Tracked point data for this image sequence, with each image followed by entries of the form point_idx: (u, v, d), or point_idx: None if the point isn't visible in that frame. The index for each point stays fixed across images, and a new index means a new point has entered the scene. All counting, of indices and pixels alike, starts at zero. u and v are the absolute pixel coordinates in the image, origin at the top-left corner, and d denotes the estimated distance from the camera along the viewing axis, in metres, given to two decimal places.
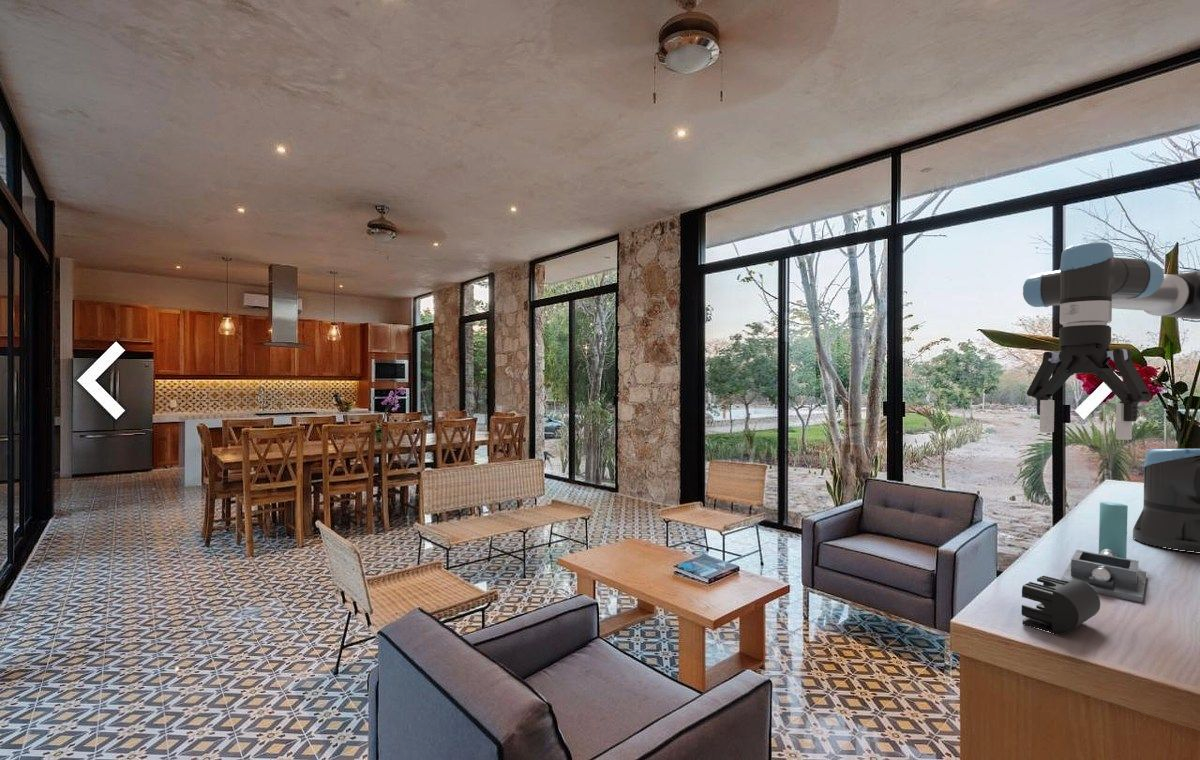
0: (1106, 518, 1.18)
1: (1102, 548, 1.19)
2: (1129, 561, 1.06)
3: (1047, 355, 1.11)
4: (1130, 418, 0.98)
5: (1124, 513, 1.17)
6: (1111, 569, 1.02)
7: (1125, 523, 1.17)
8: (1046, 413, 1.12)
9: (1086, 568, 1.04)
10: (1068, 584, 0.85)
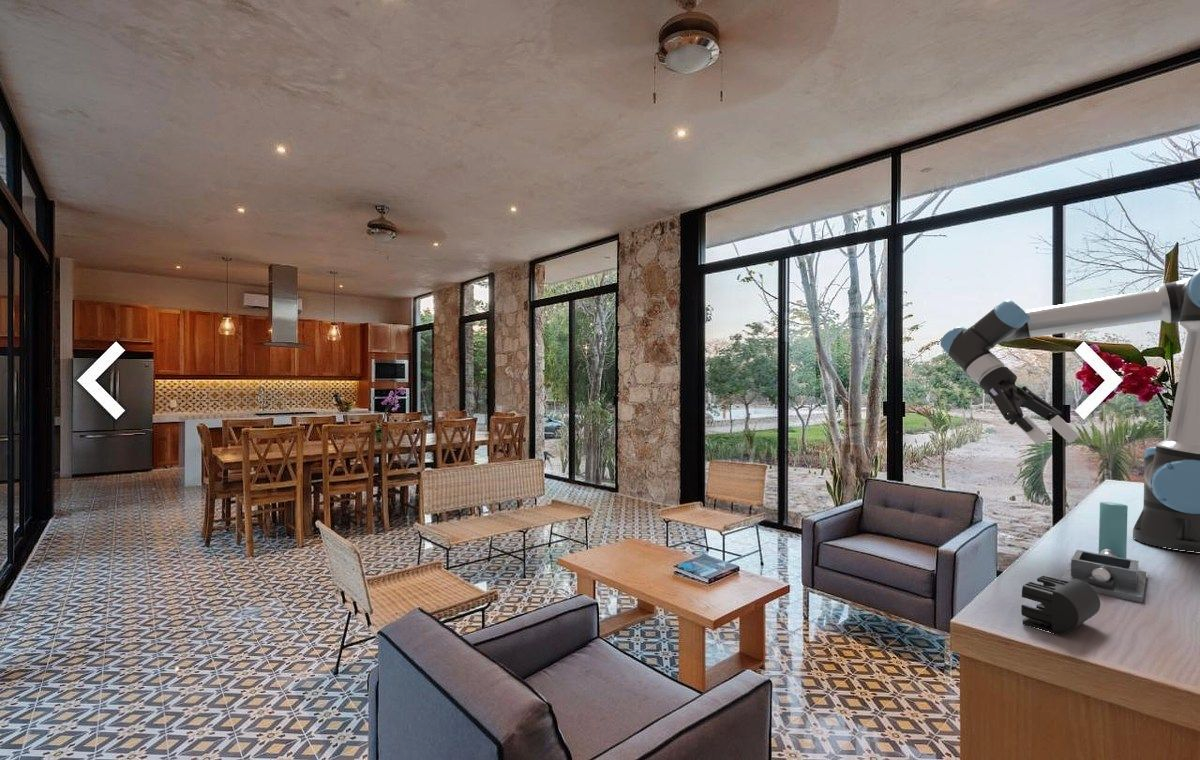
0: (1106, 518, 1.18)
1: (1102, 548, 1.19)
2: (1129, 561, 1.06)
3: None
4: (1024, 430, 1.27)
5: (1124, 513, 1.17)
6: (1111, 569, 1.02)
7: (1125, 523, 1.17)
8: (1058, 429, 1.33)
9: (1086, 568, 1.04)
10: (1068, 584, 0.85)
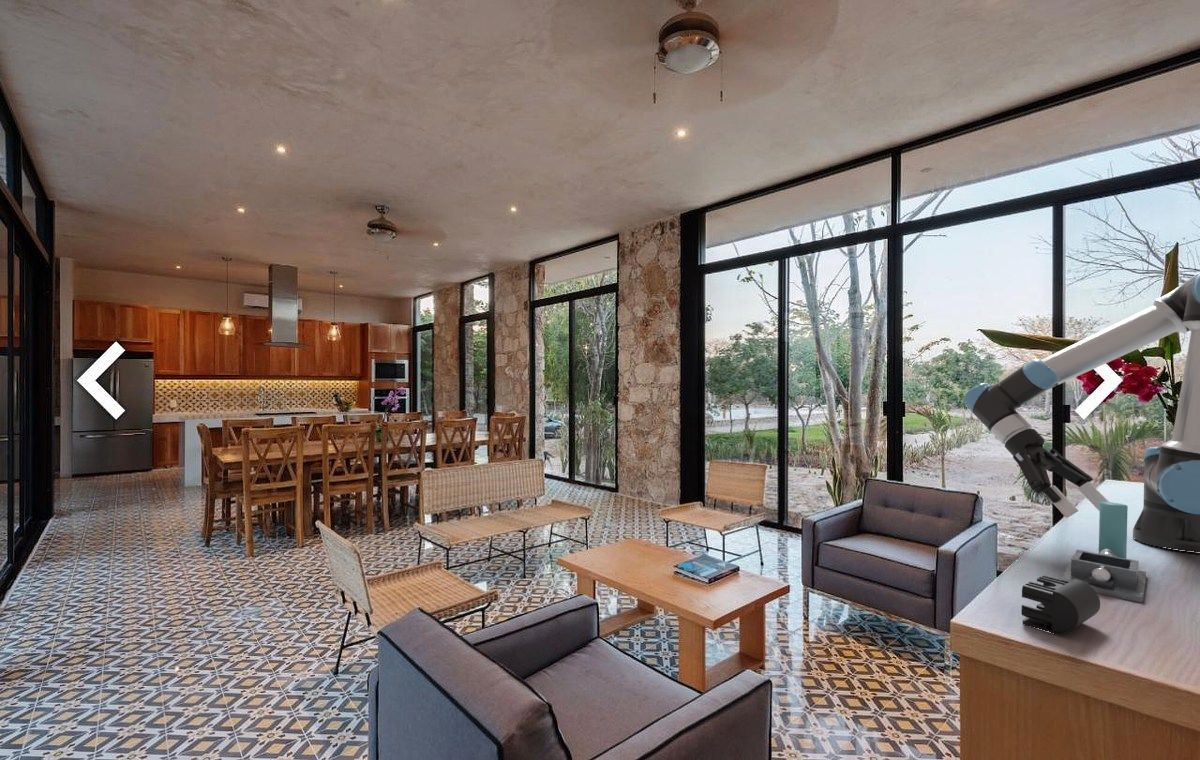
0: (1106, 518, 1.18)
1: (1102, 548, 1.19)
2: (1129, 561, 1.06)
3: None
4: (1051, 500, 1.22)
5: (1124, 513, 1.17)
6: (1111, 569, 1.02)
7: (1125, 523, 1.17)
8: (1089, 496, 1.27)
9: (1086, 568, 1.04)
10: (1068, 584, 0.85)
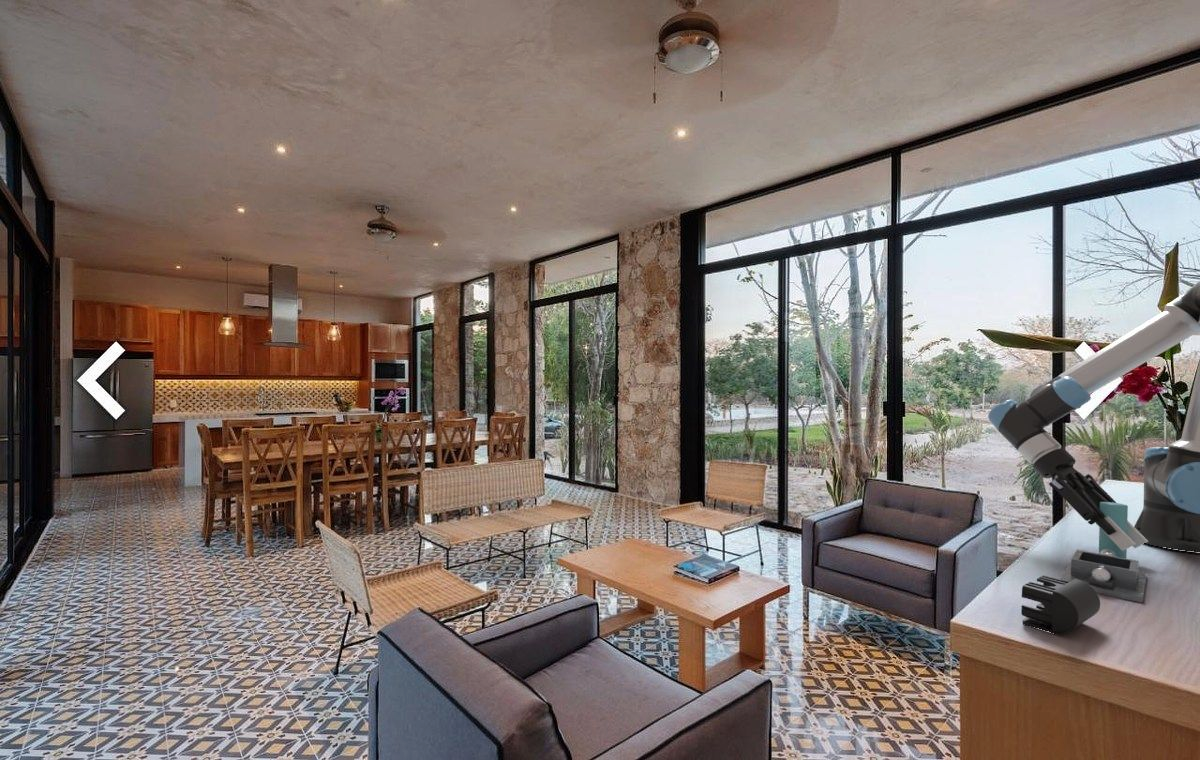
0: None
1: (1102, 548, 1.19)
2: (1129, 561, 1.06)
3: None
4: (1106, 532, 1.17)
5: (1124, 513, 1.17)
6: (1111, 569, 1.02)
7: (1125, 523, 1.17)
8: None
9: (1086, 568, 1.04)
10: (1068, 584, 0.85)
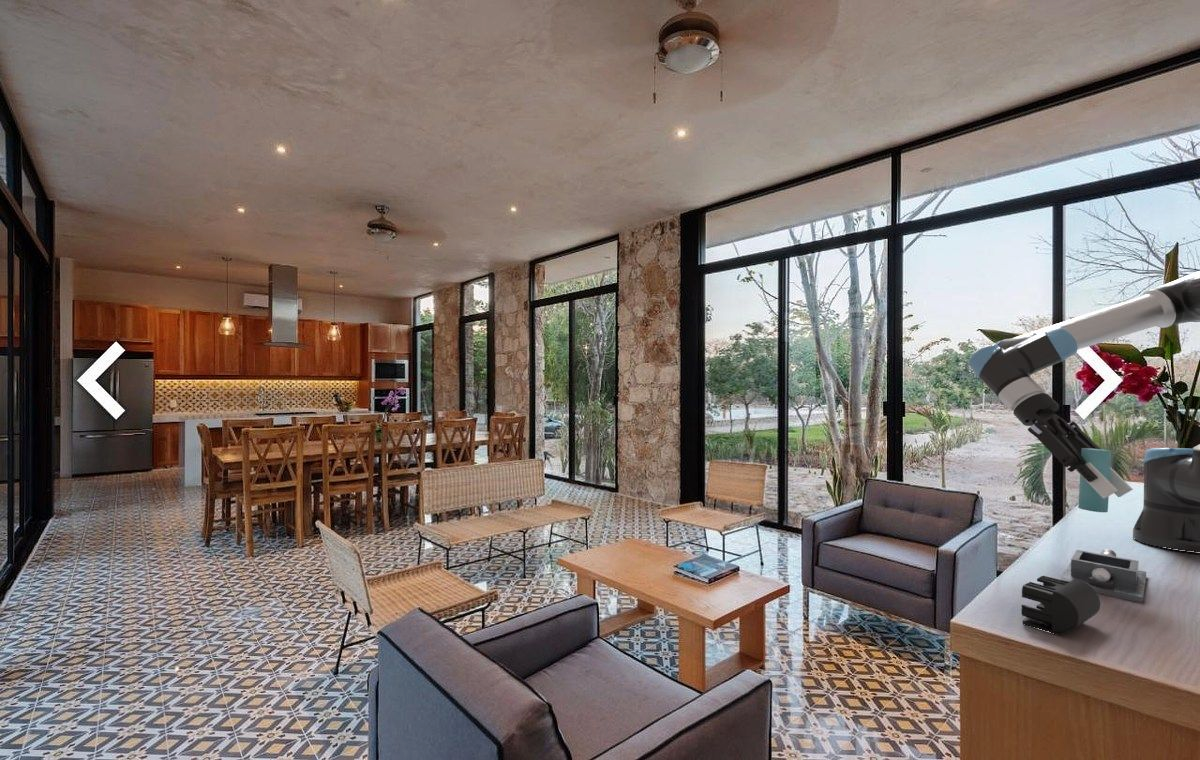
0: None
1: (1082, 497, 1.10)
2: (1129, 561, 1.06)
3: None
4: (1086, 479, 1.07)
5: (1107, 459, 1.07)
6: (1111, 569, 1.02)
7: (1107, 469, 1.07)
8: None
9: (1086, 568, 1.04)
10: (1068, 584, 0.85)
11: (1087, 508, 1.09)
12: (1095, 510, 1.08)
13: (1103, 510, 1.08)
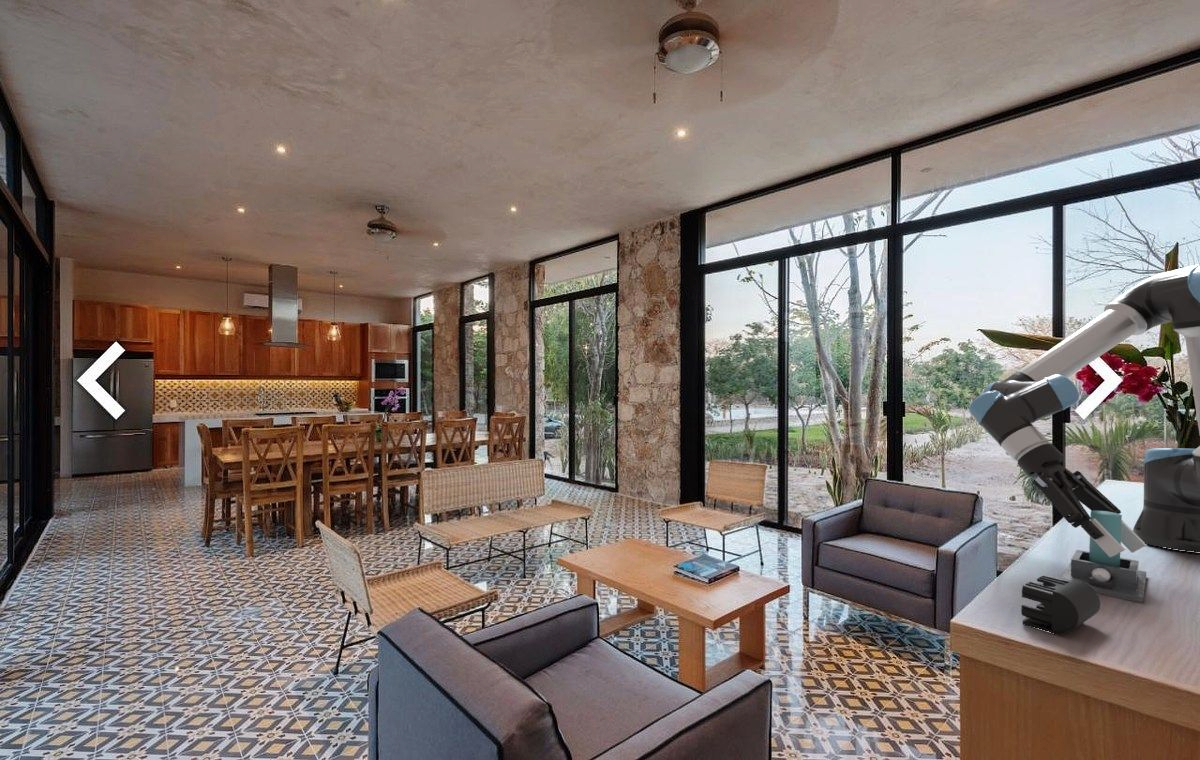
0: None
1: None
2: (1129, 561, 1.06)
3: None
4: (1092, 537, 1.03)
5: (1117, 524, 1.03)
6: (1111, 569, 1.02)
7: (1119, 535, 1.04)
8: None
9: (1086, 568, 1.04)
10: (1068, 584, 0.85)
11: None
12: None
13: None
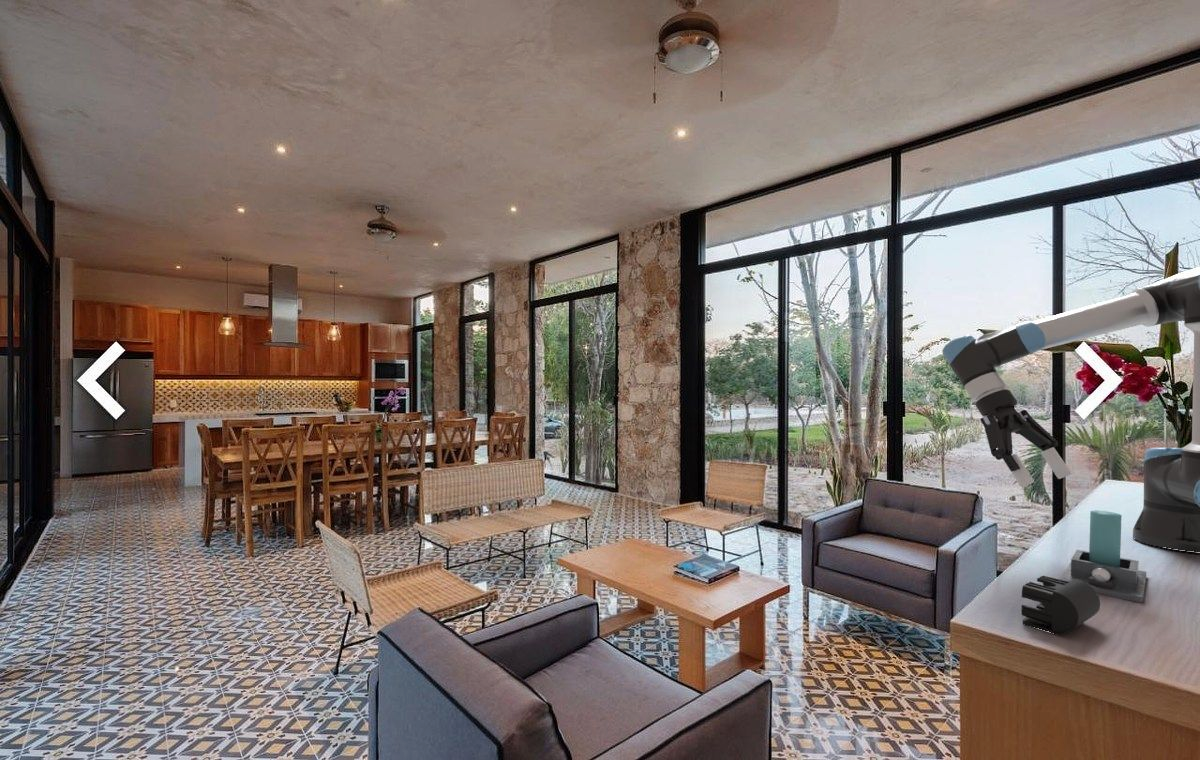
0: (1097, 529, 1.05)
1: None
2: (1129, 561, 1.06)
3: None
4: (1010, 469, 1.18)
5: (1117, 524, 1.03)
6: (1111, 569, 1.02)
7: (1118, 535, 1.04)
8: (1050, 462, 1.24)
9: (1086, 568, 1.04)
10: (1068, 584, 0.85)
11: None
12: None
13: None
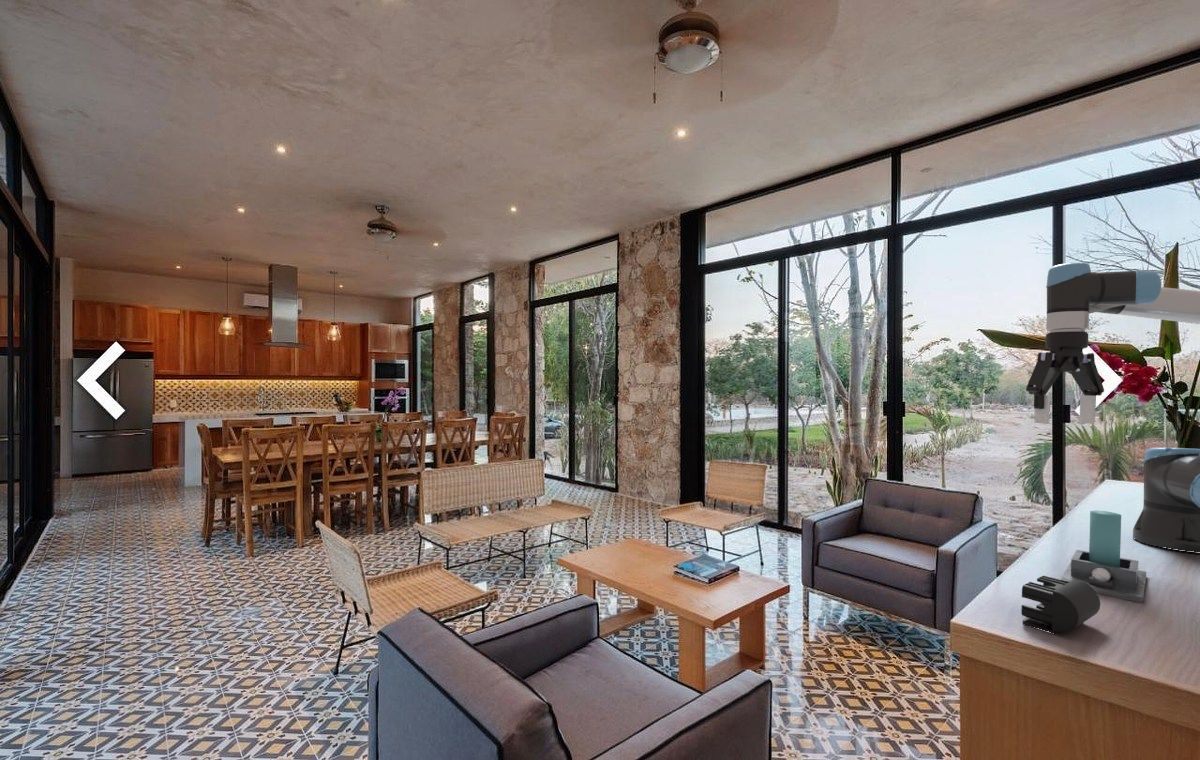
0: (1097, 529, 1.05)
1: None
2: (1129, 561, 1.06)
3: None
4: (1034, 406, 1.26)
5: (1117, 524, 1.03)
6: (1111, 569, 1.02)
7: (1118, 535, 1.04)
8: (1083, 406, 1.29)
9: (1086, 568, 1.04)
10: (1068, 584, 0.85)
11: None
12: None
13: None
